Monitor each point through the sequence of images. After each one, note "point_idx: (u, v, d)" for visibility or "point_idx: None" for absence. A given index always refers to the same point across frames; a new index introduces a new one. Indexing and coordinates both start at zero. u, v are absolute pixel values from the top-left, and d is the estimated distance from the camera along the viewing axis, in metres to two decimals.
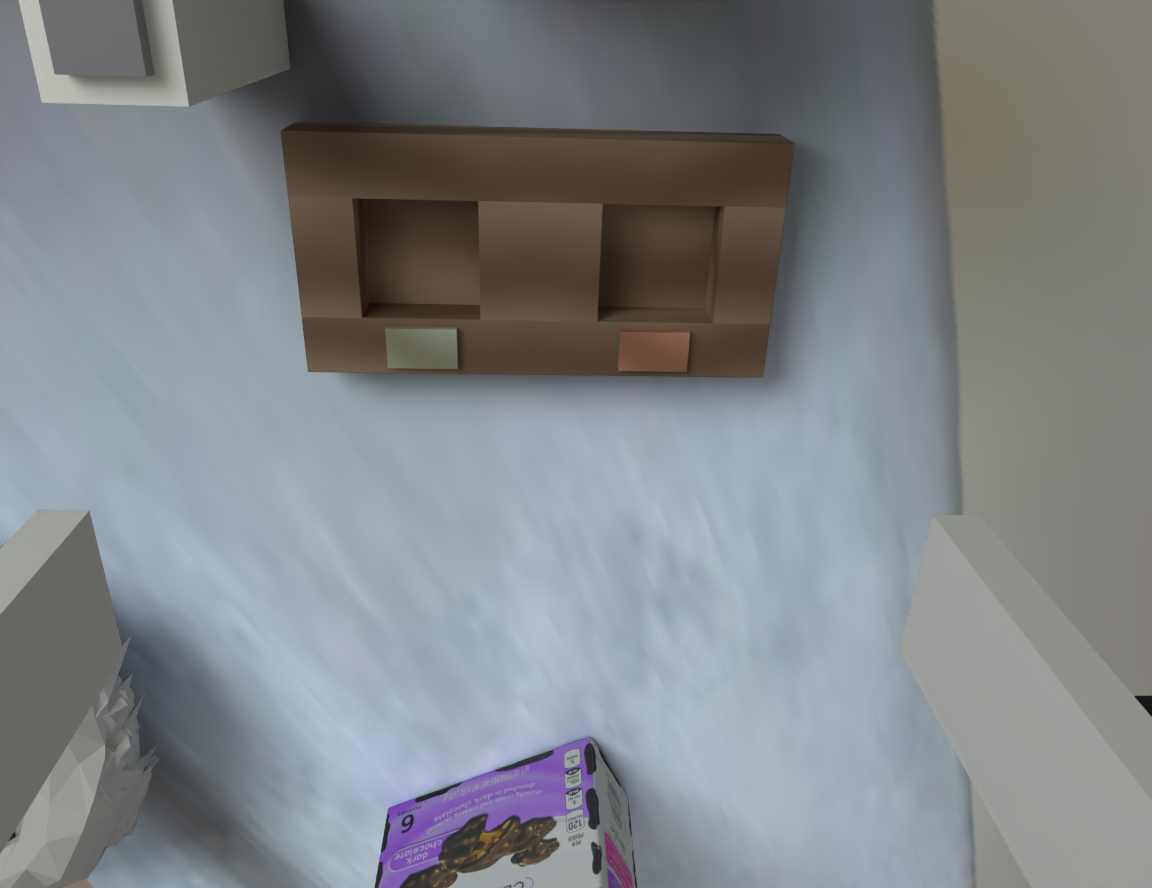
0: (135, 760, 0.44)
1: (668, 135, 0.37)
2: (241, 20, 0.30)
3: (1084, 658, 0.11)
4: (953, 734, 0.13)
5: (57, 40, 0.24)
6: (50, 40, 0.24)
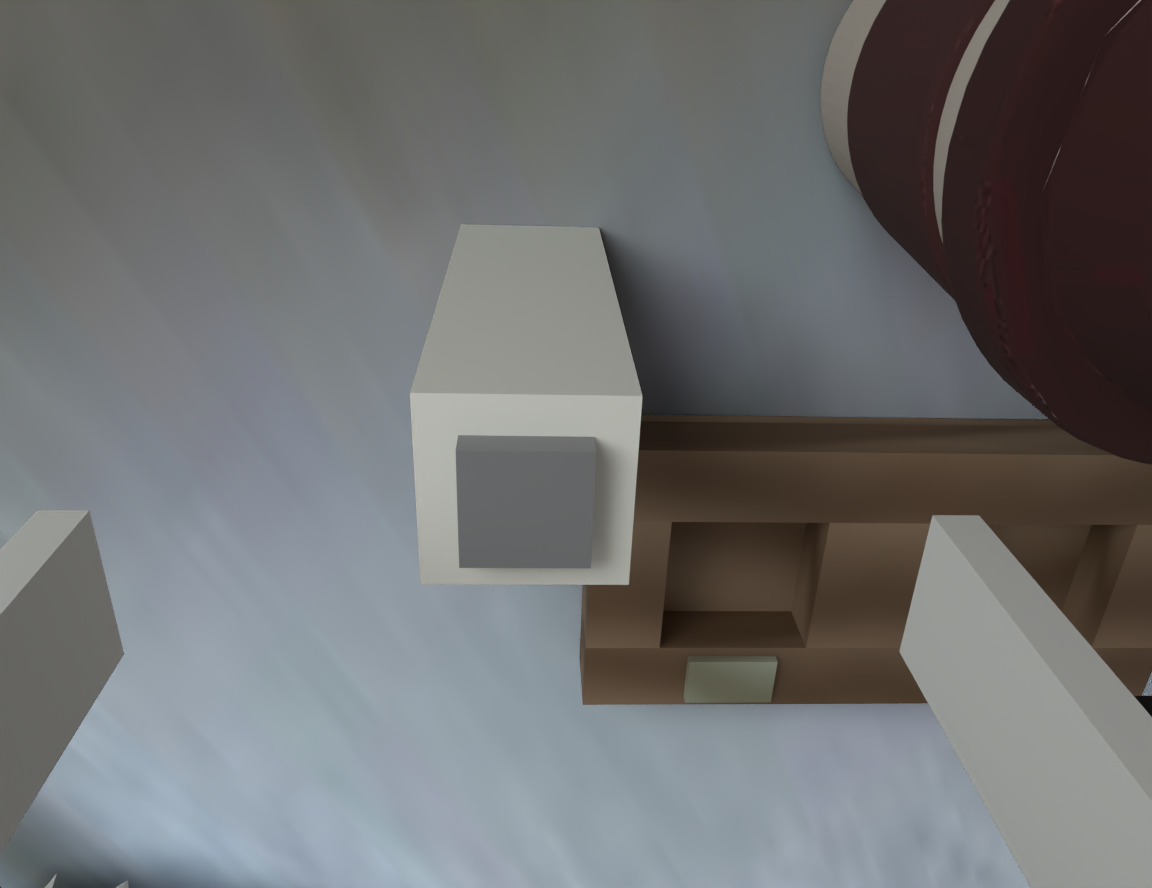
0: None
1: (1065, 434, 0.29)
2: None
3: (1083, 658, 0.11)
4: (954, 733, 0.13)
5: (473, 529, 0.16)
6: (462, 528, 0.16)
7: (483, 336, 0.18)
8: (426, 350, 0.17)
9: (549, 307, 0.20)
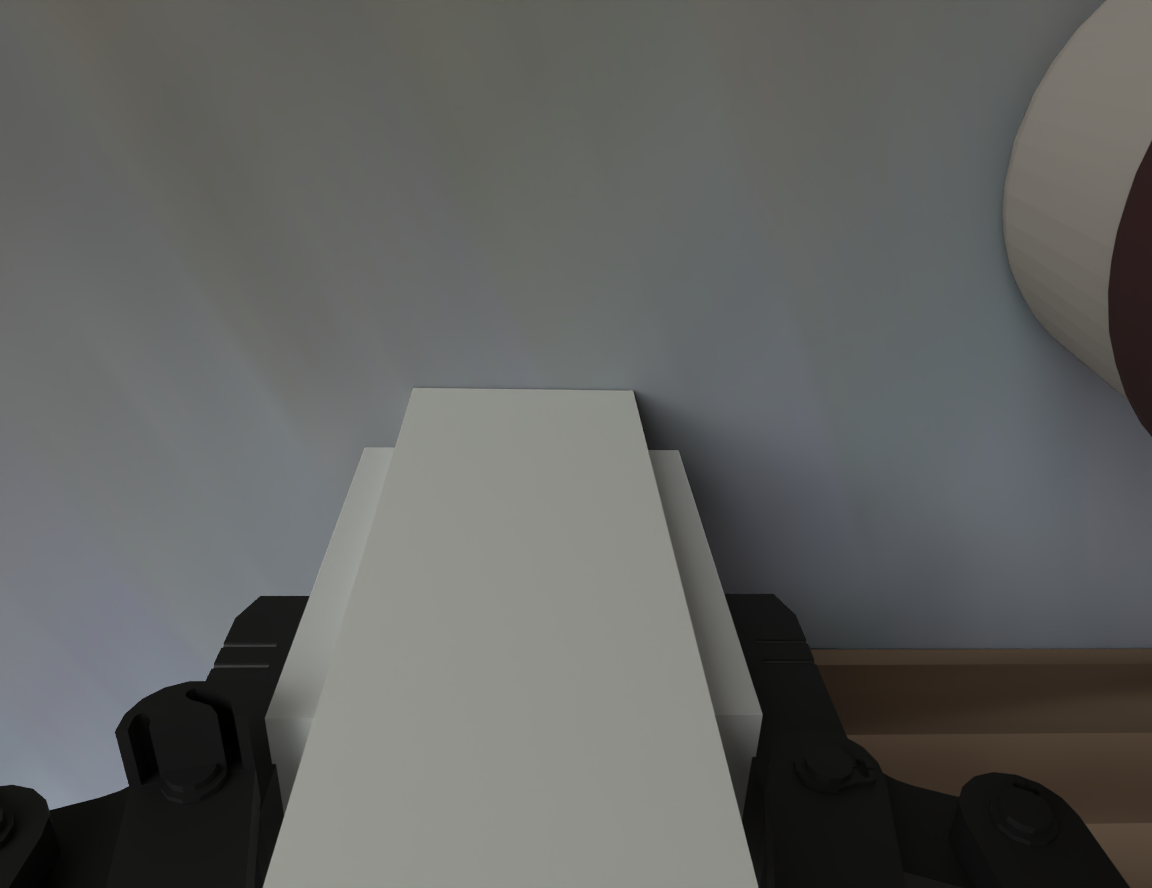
0: None
1: None
2: None
3: (697, 559, 0.13)
4: None
5: None
6: None
7: (416, 790, 0.08)
8: (276, 869, 0.07)
9: (560, 653, 0.10)
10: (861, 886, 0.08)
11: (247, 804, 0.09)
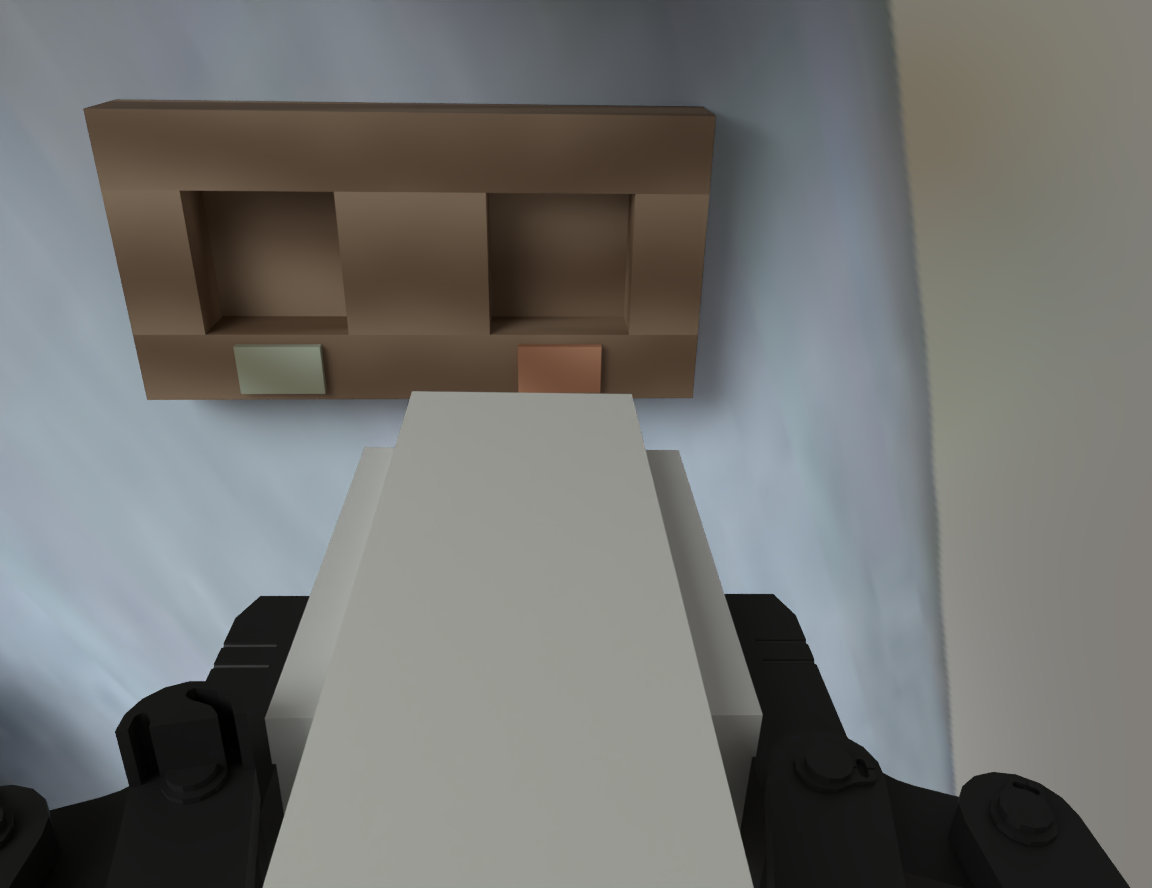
0: None
1: (565, 108, 0.30)
2: None
3: (697, 559, 0.13)
4: None
5: None
6: None
7: (414, 796, 0.08)
8: (274, 875, 0.07)
9: (557, 660, 0.10)
10: (862, 886, 0.08)
11: (247, 804, 0.09)
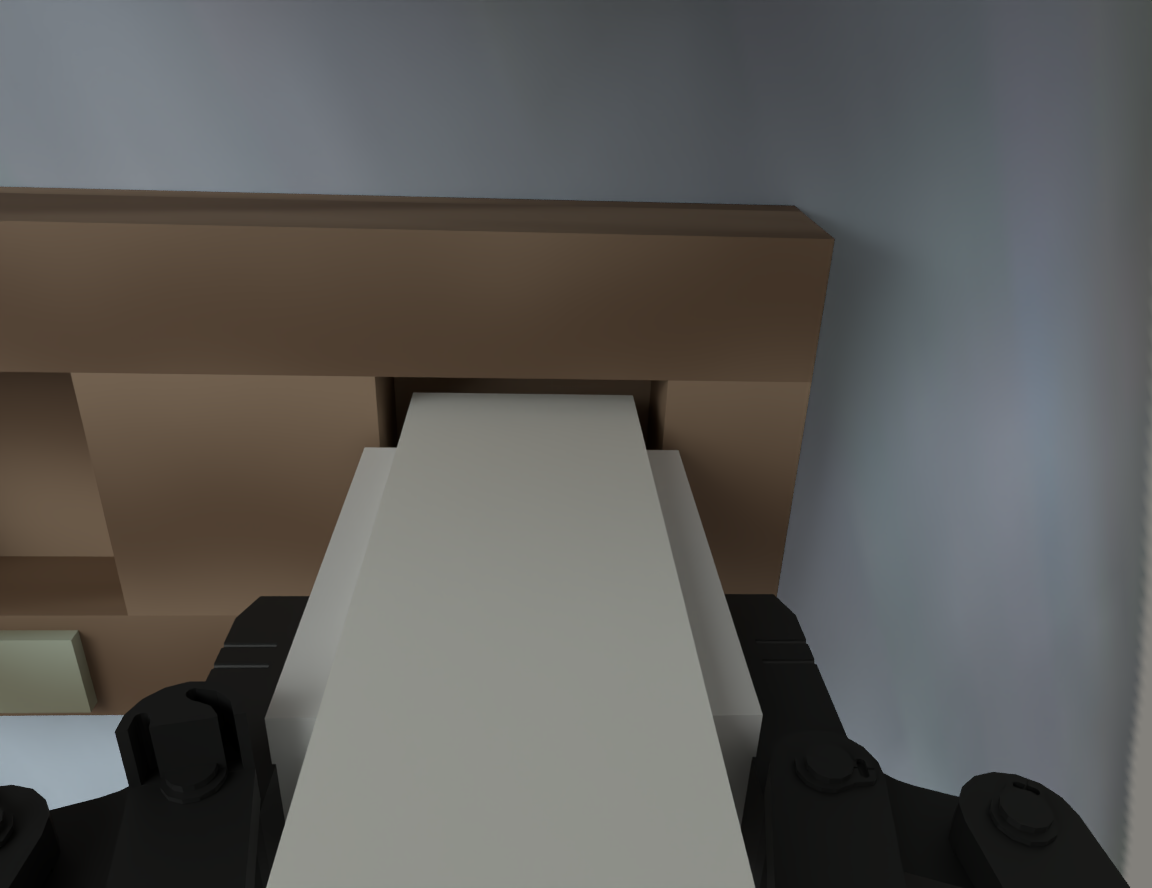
0: None
1: (534, 212, 0.15)
2: None
3: (697, 559, 0.13)
4: None
5: None
6: None
7: (418, 798, 0.08)
8: (277, 877, 0.07)
9: (559, 661, 0.10)
10: (861, 886, 0.08)
11: (247, 804, 0.09)
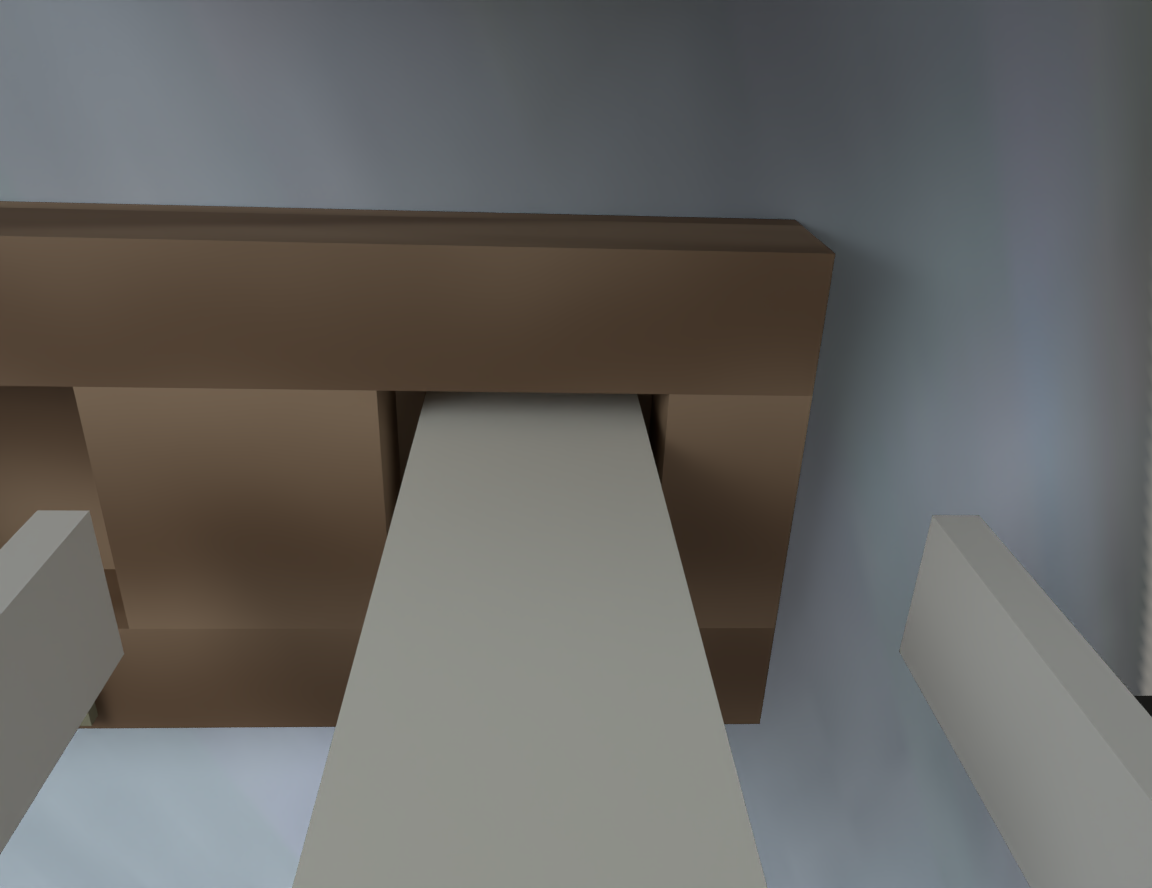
0: None
1: (535, 227, 0.16)
2: None
3: (1083, 659, 0.11)
4: (953, 734, 0.13)
5: None
6: None
7: (445, 731, 0.09)
8: (325, 793, 0.08)
9: (570, 617, 0.11)
10: None
11: None
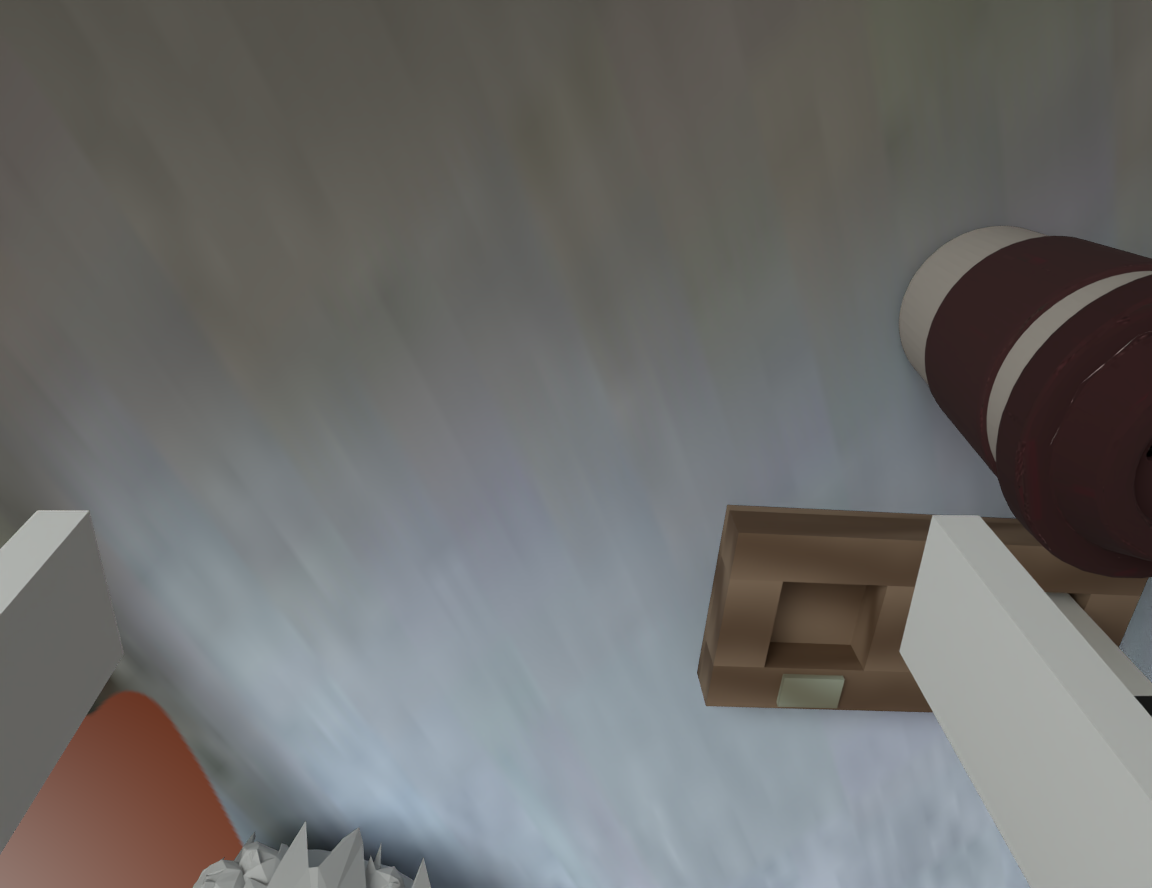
0: None
1: None
2: None
3: (1084, 659, 0.11)
4: (953, 734, 0.13)
5: None
6: None
7: None
8: None
9: None
10: None
11: None
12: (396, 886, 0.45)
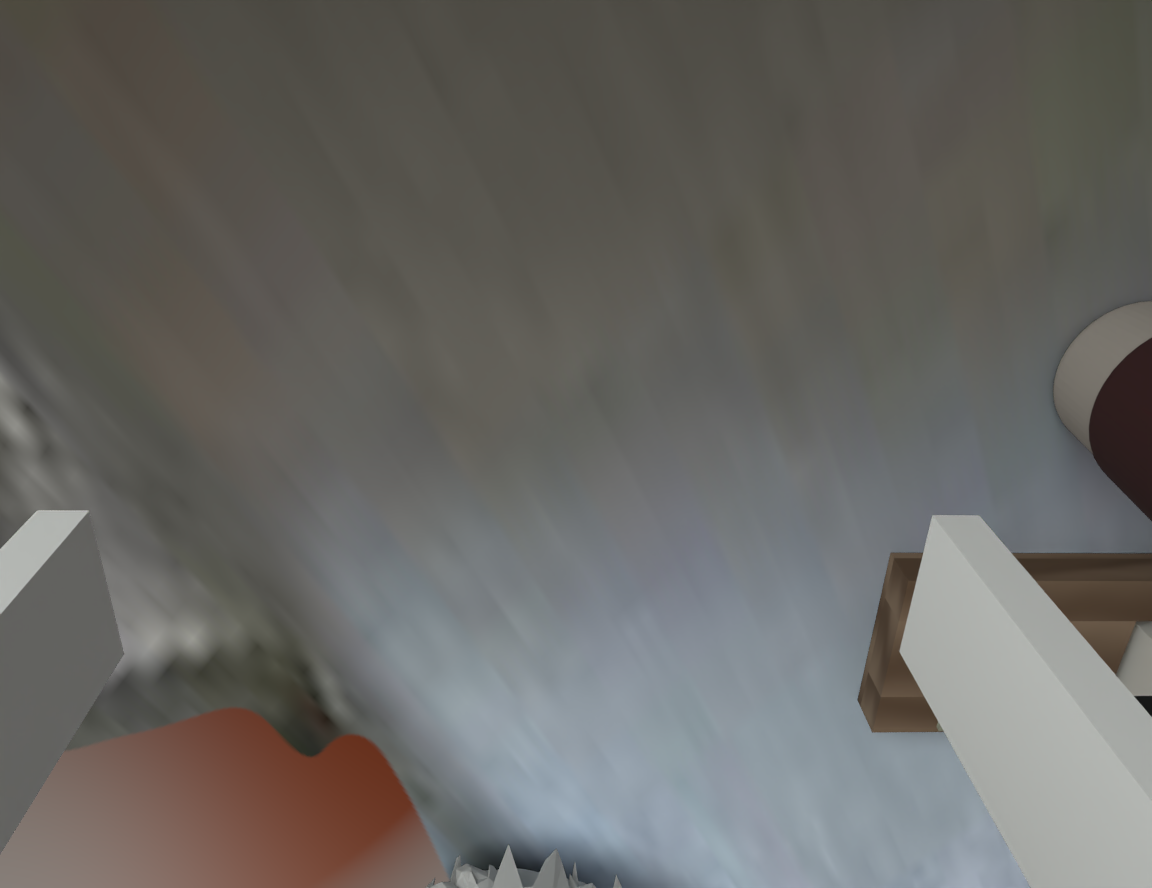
0: None
1: None
2: None
3: (1084, 659, 0.11)
4: (953, 734, 0.13)
5: None
6: None
7: None
8: None
9: None
10: None
11: None
12: None
